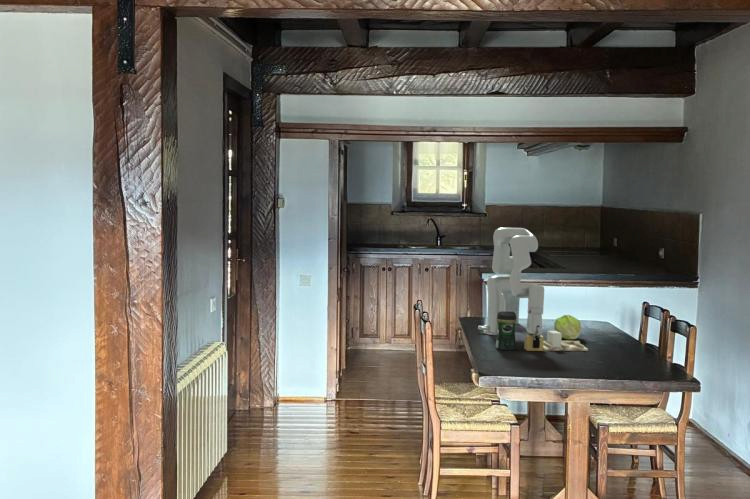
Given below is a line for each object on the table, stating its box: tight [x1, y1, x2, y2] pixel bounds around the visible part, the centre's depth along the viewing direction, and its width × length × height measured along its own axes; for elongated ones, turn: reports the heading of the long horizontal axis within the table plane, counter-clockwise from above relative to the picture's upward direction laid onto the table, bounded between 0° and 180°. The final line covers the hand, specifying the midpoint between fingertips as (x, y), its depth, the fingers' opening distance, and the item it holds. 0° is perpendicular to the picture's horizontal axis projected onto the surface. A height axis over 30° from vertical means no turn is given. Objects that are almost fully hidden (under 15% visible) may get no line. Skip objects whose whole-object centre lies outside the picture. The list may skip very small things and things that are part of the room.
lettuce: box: [553, 314, 582, 341], centre depth 405 cm, size 13×22×14 cm
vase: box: [502, 277, 522, 325], centre depth 450 cm, size 10×10×27 cm
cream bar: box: [546, 330, 563, 347], centre depth 380 cm, size 8×4×7 cm, turn 7°
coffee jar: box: [495, 311, 517, 351], centre depth 374 cm, size 10×8×19 cm
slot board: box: [543, 340, 589, 352], centre depth 381 cm, size 22×12×2 cm, turn 96°
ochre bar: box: [523, 334, 545, 352], centre depth 375 cm, size 8×4×7 cm, turn 96°
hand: (533, 346), depth 375 cm, fingers open, 6 cm apart
